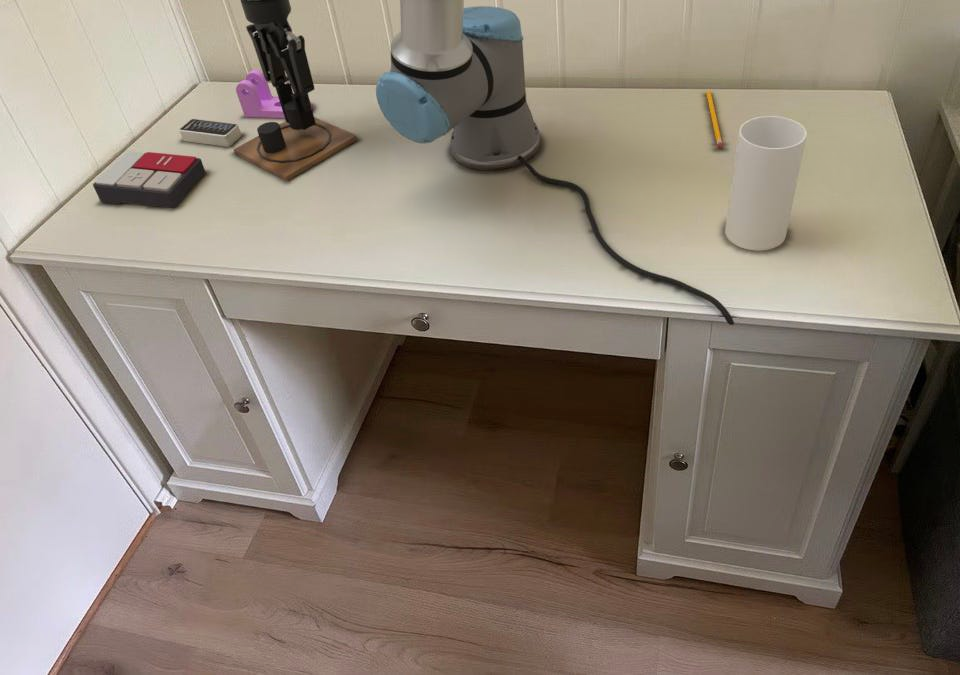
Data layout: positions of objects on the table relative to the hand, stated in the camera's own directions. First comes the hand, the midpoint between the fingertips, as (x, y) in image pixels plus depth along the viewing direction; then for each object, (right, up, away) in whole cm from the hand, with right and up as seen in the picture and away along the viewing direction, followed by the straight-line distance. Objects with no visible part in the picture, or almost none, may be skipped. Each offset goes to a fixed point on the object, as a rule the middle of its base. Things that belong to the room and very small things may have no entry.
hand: (300, 122), depth 143 cm
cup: (+72, -24, -31) cm, 82 cm away
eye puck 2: (0, 0, 0) cm, 0 cm away
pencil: (+73, -2, -9) cm, 73 cm away
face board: (-1, -5, 0) cm, 5 cm away
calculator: (-24, -13, -5) cm, 28 cm away
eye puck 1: (-4, -5, -2) cm, 7 cm away
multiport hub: (-18, -1, +6) cm, 19 cm away
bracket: (-6, +5, +11) cm, 14 cm away
